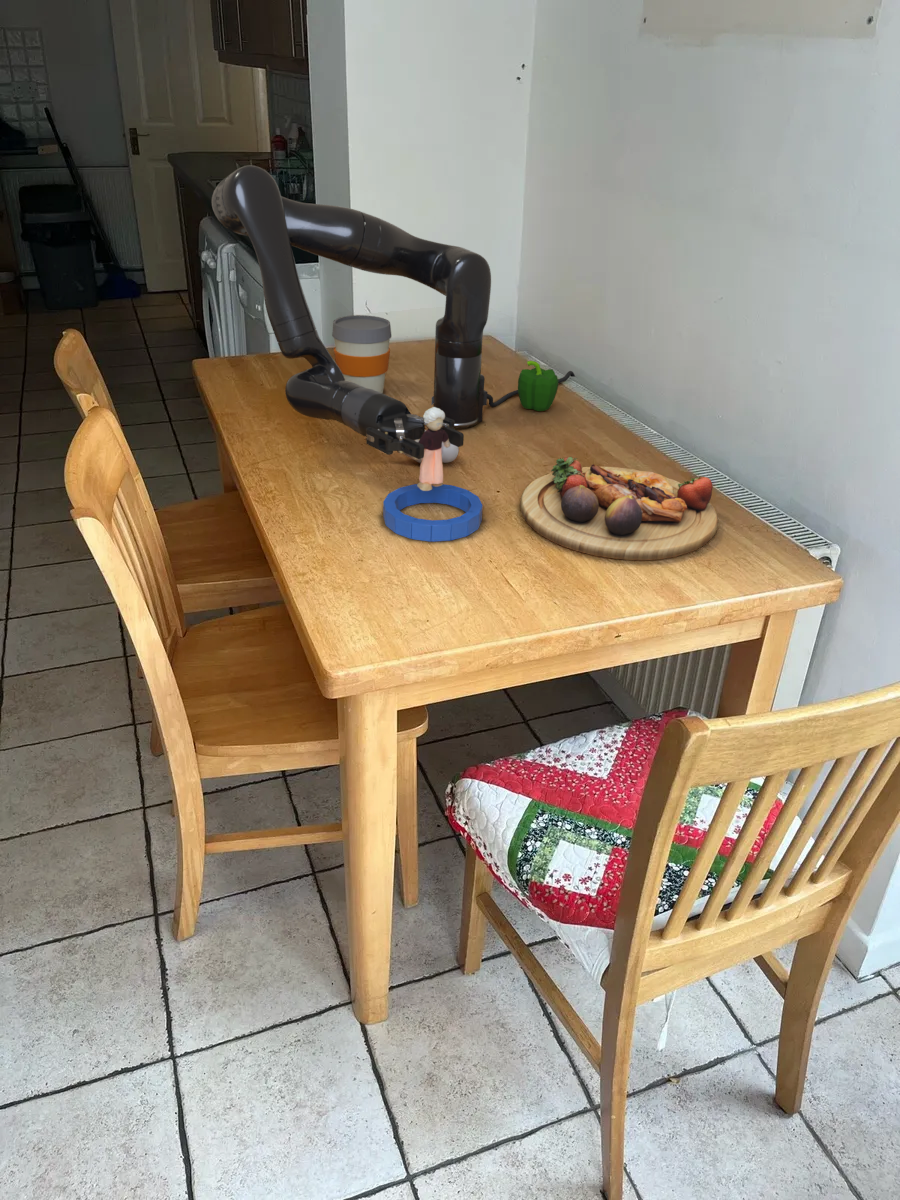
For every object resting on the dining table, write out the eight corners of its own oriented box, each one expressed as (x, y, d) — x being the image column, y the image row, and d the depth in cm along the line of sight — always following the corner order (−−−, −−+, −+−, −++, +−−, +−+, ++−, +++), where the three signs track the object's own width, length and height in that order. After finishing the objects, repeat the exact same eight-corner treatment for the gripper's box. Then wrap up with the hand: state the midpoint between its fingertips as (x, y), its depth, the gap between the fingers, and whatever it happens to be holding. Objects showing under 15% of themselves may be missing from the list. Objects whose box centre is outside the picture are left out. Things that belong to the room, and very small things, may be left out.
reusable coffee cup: (402, 390, 201) (403, 321, 193) (368, 405, 192) (367, 333, 184) (357, 379, 206) (356, 311, 198) (322, 393, 197) (319, 323, 189)
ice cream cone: (373, 461, 165) (453, 472, 168) (378, 451, 159) (460, 463, 162) (376, 429, 166) (455, 441, 169) (381, 418, 160) (463, 430, 163)
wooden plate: (712, 490, 160) (721, 445, 156) (720, 576, 133) (732, 526, 129) (532, 469, 165) (536, 425, 161) (505, 548, 138) (509, 499, 134)
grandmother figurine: (428, 496, 139) (431, 417, 133) (408, 489, 141) (410, 411, 134) (455, 479, 145) (459, 403, 138) (435, 473, 147) (438, 397, 140)
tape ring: (447, 491, 155) (447, 476, 154) (500, 527, 144) (501, 511, 143) (366, 510, 148) (366, 494, 146) (416, 550, 137) (416, 533, 135)
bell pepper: (561, 406, 196) (566, 360, 190) (547, 417, 189) (551, 369, 184) (525, 398, 199) (529, 353, 194) (510, 409, 192) (513, 363, 187)
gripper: (339, 402, 142) (407, 433, 132) (408, 385, 150) (477, 413, 140) (340, 447, 146) (406, 480, 136) (407, 428, 154) (474, 458, 144)
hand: (442, 446), depth 138 cm, fingers closed on grandmother figurine, 7 cm apart
